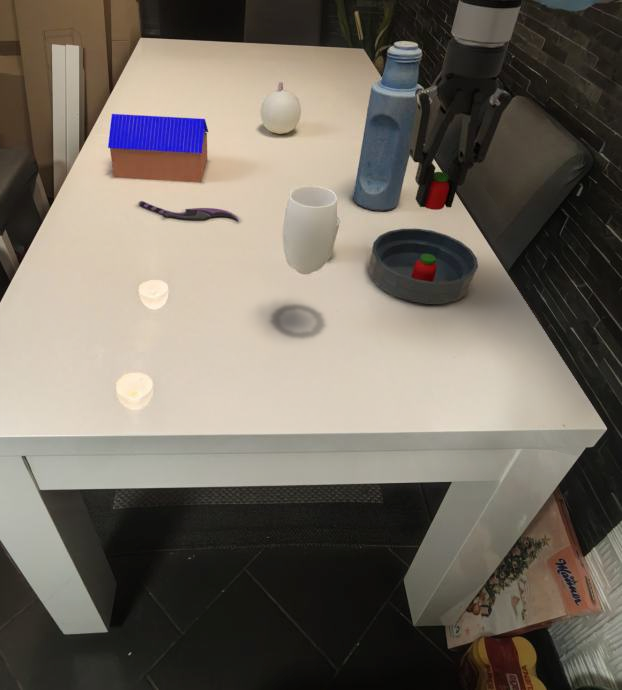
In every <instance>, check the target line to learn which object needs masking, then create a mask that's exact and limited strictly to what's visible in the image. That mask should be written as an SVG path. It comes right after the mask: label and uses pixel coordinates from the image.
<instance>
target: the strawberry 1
mask: <svg viewBox="0 0 622 690" xmlns="http://www.w3.org/2000/svg"><path fill="white" fill-rule="evenodd" d="M435 260H436V258H435V256H433V255H431V254H422V255H421V257H420V259H419V260H418V261H417V262H416V263H415V265H414V269H413V272H412V276H411V278H413V279H417V280H423V281H430V282H433V280H434V277H435V273H436V269H437V267H436V264H435Z"/></svg>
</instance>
